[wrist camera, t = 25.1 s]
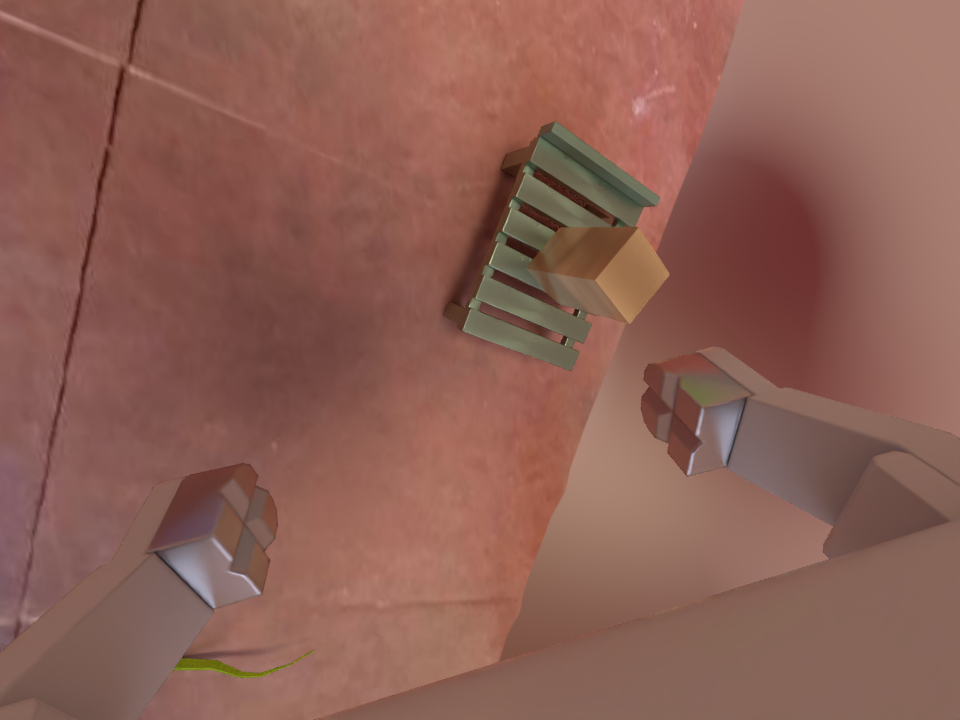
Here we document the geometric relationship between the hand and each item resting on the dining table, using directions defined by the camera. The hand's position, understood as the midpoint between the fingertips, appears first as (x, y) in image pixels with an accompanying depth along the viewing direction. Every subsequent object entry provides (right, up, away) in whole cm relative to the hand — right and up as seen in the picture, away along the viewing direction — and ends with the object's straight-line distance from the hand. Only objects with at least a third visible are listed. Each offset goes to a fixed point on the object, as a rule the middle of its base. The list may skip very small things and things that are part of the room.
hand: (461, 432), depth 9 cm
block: (+7, +9, +27) cm, 29 cm away
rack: (+5, +11, +32) cm, 34 cm away
